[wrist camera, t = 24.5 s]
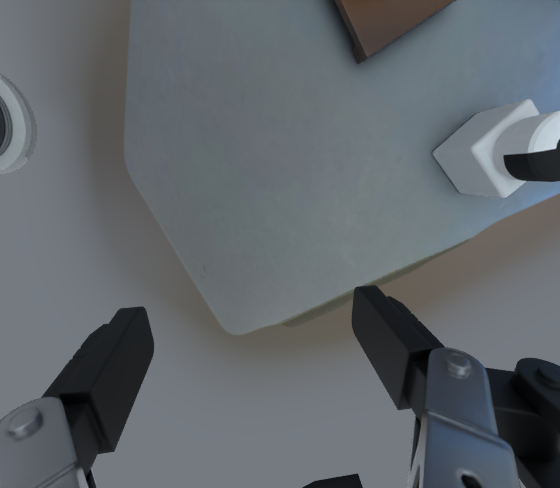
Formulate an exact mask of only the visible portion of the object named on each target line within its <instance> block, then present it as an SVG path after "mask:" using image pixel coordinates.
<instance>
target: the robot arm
mask: <svg viewBox="0 0 560 488" xmlns="http://www.w3.org/2000/svg"><path fill="white" fill-rule="evenodd" d="M12 134H13V125H12V119H11V115H10V113H9V110H8V108H7V106H6V104H5V102H4V101H3V99H2V98H1V96H0V156H1V155H2V154H3V153H4V152H5V151H6V150H7V148H8V147H9V145H10V142H11V139H12ZM352 328H353V331H354V334H355V336H356V337H357V339H358V341H359V343H360V345H361V347H362V348H363V350H364V352H365V353H366V355H367V357H368V359H369V360H370V362H371V364H372V366H373V367H374V369H375V371H376V373H377V374H378V376H379V378H380V380H381V381H382V383H383V385H384V386H385V388H386V390H387V392H388V393H389V395H390V397H391V398H392V400H393V402H394V404H395V405H396V407H397V409H398V410H403V409H410V408H412V410H413V412H414V413H415V415H416V416H415V421H414V428H413V438H412V446H411V455H410V464H409V473H408V481H407V488H521V487H520V482H519V479H520V480H521V481H522V483H523V484H524V485H525V487H526V488H560V366H558V365H556V364H554V363H550V362H548V361H545V360H541V359H536V358H524V359H521V360H519V361H518V363H517V365H516V368H515V371H514V372H513V371H505V370H498V369H490V368H484V366H483V365H482V364H481V363H480V362H479V361H478V360H476V359H475V358H474V357H472V356H471V355H469V354H467V353H465V352H463V351H460V350H456V349H453V348H447V347H444V345H443V344H442V343H440V342H439V340H438V339H437V338H436V337H435V336H434V335H433V334H432V333H431V332H430V331H429V330H428V329H427V328H426V327H425V326H424V325H423V324H422V323H421V322H420V321H418V319H417V318H416V317H415V316H414V315H413V314H411V312H410V311H409V310H408V309H407V308H406V307H405V305H404V304H402V303H401V302H399V301H397V300H396V299H394V298H392V297H390V296H388V297H386V296H385V295H384V294H383V293H382V291H381V290H380V289H379V288H378V287H377V286H376V285H371V286H360V287H356V288H355V290H354V298H353V309H352ZM153 353H154V341H153V336H152V332H151V328H150V324H149V320H148V316H147V312H146V309H145V308H144V307H132V308H121V309H119V310H118V311H117V313H116V314H115V316H114V317H113V319H112V320H111V321H110V323H109V324H103V325H102V326H101V327H99V328H98V329H97V330H96V331H94V332H93V333H92V334H90V335H89V336H88V338H87V339H86V340H85V342H84V343H83V344H82V346H81V348H80V349H79V350H78V351H77V352H76V353H75V355H74V356H73V359H71V360H70V361H69V362H68V364H67V365H66V366H65V367H64V369H63V370H62V371H61V373H60V374H59V375H58V377H57V378H56V379H55V380H54V382H53V383H52V384H51V386H50V387H49V388H48V389H47V391H46V392H45V393H44V395H43V396H42V397H41V398H39V399H36V400H33V401H30V402H28V403H26V404H23V405H21V406H20V407H18V408H16V409H14V410H13V411H11V412H10V413H9V414H7V415H6V416H5V417H3V418H2V419H1V420H0V488H98V485H97V482H96V479H95V476H94V472H93V470H92V468H91V467H92V465H93V463H94V461H95V458H96V456H97V454H102V453H108V452H114V451H115V448H116V446H117V443H118V441H119V438H120V436H121V434H122V431H123V429H124V426H125V424H126V421H127V418H128V416H129V414H130V412H131V409H132V407H133V404H134V401H135V399H136V396H137V394H138V392H139V389H140V387H141V384H142V382H143V380H144V377H145V375H146V372H147V370H148V367H149V365H150V362H151V360H152V357H153ZM303 488H363V487H362V484H361V482H360V479H359V476H358V474H353V475H347V476H341V477H336V478H330V479H324V480H318V481H314V482H312V483H310V484H308V485H306V486H305V487H303Z"/></svg>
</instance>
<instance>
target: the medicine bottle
mask: <svg viewBox="0 0 560 488" xmlns="http://www.w3.org/2000/svg"><path fill="white" fill-rule="evenodd" d="M432 154H433V156H434V157H435V159H436V160H437V162H438V163H439V164H440V166H441V167H442V169H443V170H444V172H445V173H446V174H447V176H448V177H449V179H450V180H451V181H452V183H453V184H454V186H455V187H456V188H457V190H458V191H459V193H461V194H469V195H479V196H488V197H498V198H506V197H508V196H509V195H510V194H512V193H513V192H514V191H515V190H516V189H518V188H519V187H520V186H521V185H523V184H524V183H525V182H526V181H545V182H555V181H560V111H556V112H551V113H546V114H542V115H540V114H539V113H538V111H537V109H536V107H535V106H534V104H533V102H532V100H531V99H525V100H522V101H518V102H515V103H511V104H507V105H504V106H500V107H497V108H493V109H490V110H486V111H482V112H479V113H477V114H475V115H474V116H473V117H472V118H471V119H469V120H468V121H467V122H466V123H465V124H464V125H463V126H461V127H460V128H459V129H458V130H457V131H456V132H455V133H454V134H452V135H451V136H450V137H449V138H448V139H447V140H446V141H444V142H443V143H442V144H441V145H440V146H439V147H438V148H436V149H435V150H434V151H433V153H432Z"/></svg>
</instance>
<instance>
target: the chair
mask: <svg viewBox="0 0 560 488" xmlns="http://www.w3.org/2000/svg"><path fill="white" fill-rule="evenodd" d="M454 1H456V0H335V2H336V4H337V6H338V9H339V11H340V13H341V15H342V17H343V19H344V22H345V24H346V26H347V28H348V30H349V32H350V35H351V37H352V39H353V41H354V43H355V47H354V48H353V50H352V53H353V55H354V57H355V59H356V61H357V63H358V64H359V63H361V62H362V61H363V62H364V61H366V60H367V59H369V58H370V57H372V56H373V55H375V54H376V53H378V52H379V51H381V50H382V49H384V48H385V47H387V46H388V45H390V44H391V43H393V42H394V41H396V40H397V39H399V38H400V37H402V36H403V35H405V34H406V33H408V32H409V31H411V30H412V29H414V28H415V27H417V26H418V25H420V24H421V23H423V22H424V21H426V20H427V19H429V18H430V17H432V16H433V15H435V14H436V13H438V12H439V11H441V10H442V9H444V8H445V7H447V6H448V5H450V4H451V3H453V2H454Z"/></svg>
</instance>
